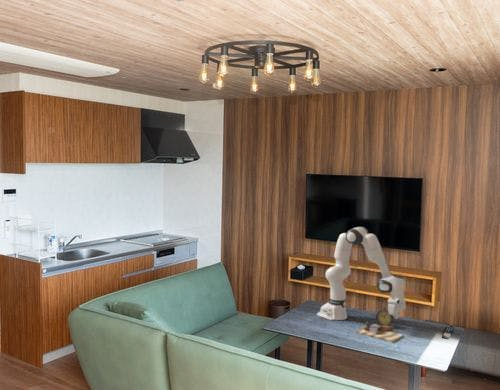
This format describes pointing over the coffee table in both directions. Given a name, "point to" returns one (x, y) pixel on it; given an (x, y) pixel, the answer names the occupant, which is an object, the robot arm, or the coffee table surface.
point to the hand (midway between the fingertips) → (397, 318)
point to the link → (382, 328)
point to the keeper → (374, 328)
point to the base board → (382, 335)
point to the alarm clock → (384, 317)
